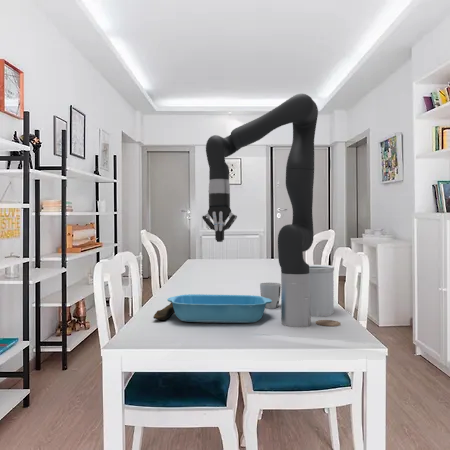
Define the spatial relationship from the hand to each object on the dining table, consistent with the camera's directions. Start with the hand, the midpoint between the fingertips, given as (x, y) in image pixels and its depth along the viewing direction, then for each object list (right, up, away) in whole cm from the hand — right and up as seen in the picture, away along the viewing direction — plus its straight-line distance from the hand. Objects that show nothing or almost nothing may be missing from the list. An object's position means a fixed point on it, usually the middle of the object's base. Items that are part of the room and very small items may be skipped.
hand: (219, 241), depth 149 cm
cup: (+20, -27, +15) cm, 37 cm away
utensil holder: (+35, -27, +7) cm, 45 cm away
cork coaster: (+36, -27, -10) cm, 46 cm away
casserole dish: (0, -27, 0) cm, 27 cm away
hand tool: (-23, -26, +10) cm, 36 cm away
